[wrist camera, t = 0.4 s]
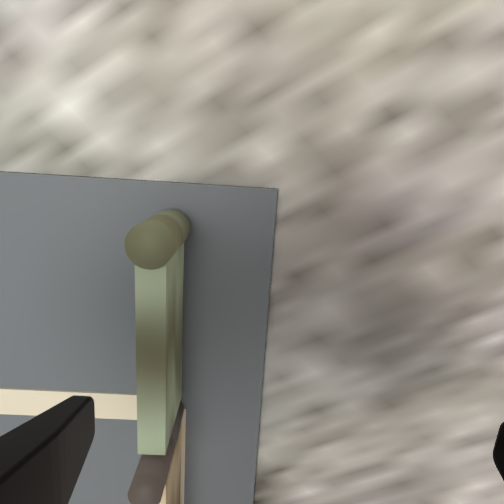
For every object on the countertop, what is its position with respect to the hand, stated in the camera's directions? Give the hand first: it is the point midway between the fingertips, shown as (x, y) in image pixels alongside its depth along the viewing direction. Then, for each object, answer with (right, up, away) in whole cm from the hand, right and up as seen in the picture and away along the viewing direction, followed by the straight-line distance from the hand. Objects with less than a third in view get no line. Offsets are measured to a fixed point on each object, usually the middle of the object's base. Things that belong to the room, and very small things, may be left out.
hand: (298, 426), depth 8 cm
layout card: (-10, -5, +13) cm, 17 cm away
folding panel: (-5, +1, +10) cm, 12 cm away
